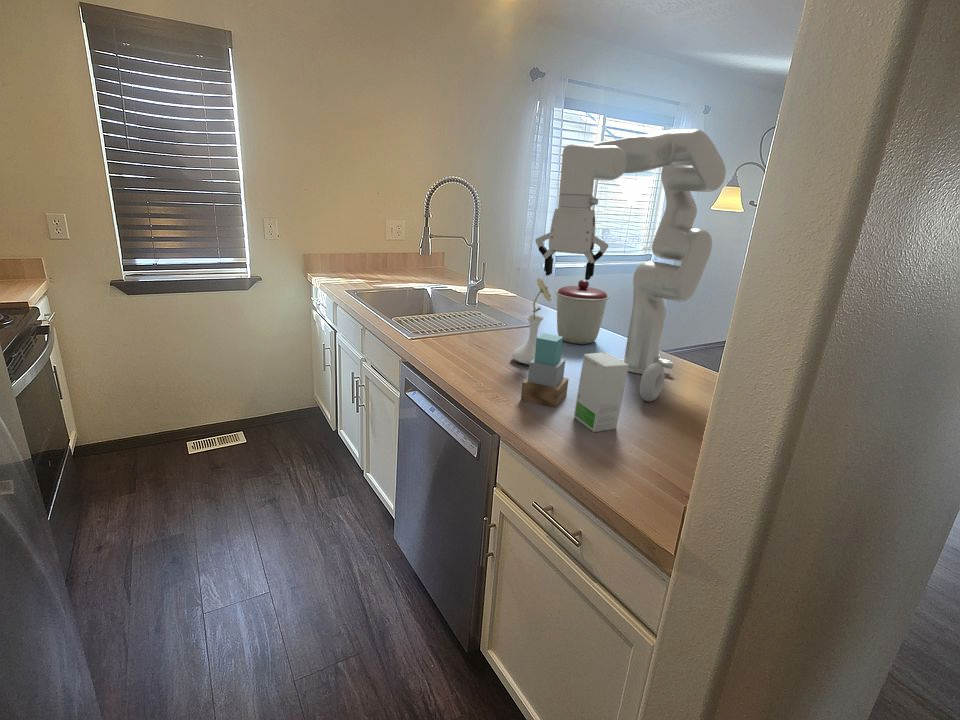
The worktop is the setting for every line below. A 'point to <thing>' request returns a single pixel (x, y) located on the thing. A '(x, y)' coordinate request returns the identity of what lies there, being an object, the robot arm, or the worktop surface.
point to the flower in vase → (532, 330)
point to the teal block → (548, 349)
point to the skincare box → (600, 391)
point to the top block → (546, 373)
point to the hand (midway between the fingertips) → (568, 276)
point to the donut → (652, 382)
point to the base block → (544, 393)
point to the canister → (580, 312)
